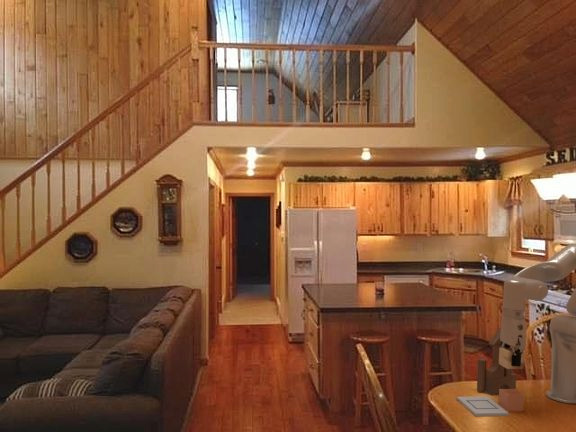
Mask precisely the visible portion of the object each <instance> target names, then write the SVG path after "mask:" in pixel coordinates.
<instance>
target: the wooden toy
mask: <svg viewBox="0 0 576 432" xmlns="http://www.w3.org/2000/svg"><path fill="white" fill-rule="evenodd" d="M500 332H501V327H499V328H497V331H496V332H495V333H494V335H493V336H492V337H491V339H490V341H489V342H488V345H490V346H492V361H491V364H490V366H489V367H488V368H487V359H486V358H482V357H481V358H480V357H479V358H477V373H476V374H477V377H476V381H477V382H476V391H477V392H479V393H485V394H488V395H490V396H495V395H499V389H516V388H517V374H516V373H514V372H513V369H507V368H505V367H503V366H501V365H500V364H499V349H500V348H501V347H502V345H501V341H500V338H499V337H500ZM516 390H517V389H516Z"/></svg>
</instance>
